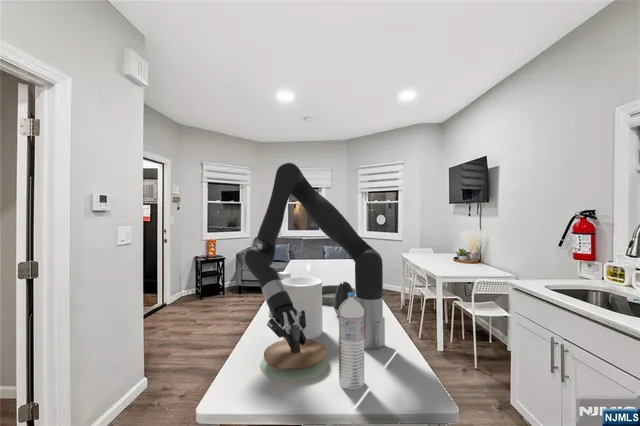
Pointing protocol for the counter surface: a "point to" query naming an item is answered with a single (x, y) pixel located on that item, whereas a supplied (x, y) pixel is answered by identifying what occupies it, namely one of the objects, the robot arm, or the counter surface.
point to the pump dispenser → (341, 295)
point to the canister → (307, 302)
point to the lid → (295, 353)
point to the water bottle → (351, 344)
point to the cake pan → (330, 293)
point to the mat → (294, 372)
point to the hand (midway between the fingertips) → (299, 345)
